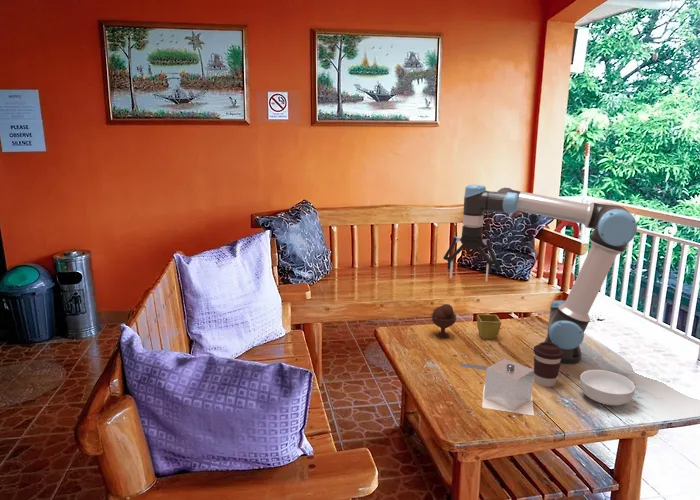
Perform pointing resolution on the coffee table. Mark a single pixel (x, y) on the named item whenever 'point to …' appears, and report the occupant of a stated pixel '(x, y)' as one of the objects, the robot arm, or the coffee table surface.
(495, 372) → the metal cover
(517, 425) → the coffee table surface
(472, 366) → the rubber mat
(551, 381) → the coffee cup
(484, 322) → the flower pot
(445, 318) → the ice cream bowl
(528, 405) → the serving board
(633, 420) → the coffee table surface
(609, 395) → the cereal bowl
